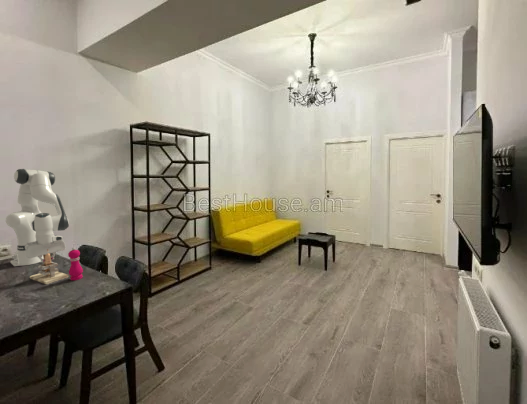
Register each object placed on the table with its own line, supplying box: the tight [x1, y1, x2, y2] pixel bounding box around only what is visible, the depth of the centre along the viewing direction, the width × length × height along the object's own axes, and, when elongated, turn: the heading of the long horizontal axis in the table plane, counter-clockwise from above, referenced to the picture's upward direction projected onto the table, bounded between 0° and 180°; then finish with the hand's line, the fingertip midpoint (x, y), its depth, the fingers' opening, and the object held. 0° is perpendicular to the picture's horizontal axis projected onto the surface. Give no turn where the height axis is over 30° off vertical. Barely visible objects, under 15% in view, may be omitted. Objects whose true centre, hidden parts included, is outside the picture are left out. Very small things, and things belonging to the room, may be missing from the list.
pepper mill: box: [67, 247, 84, 281], centre depth 165 cm, size 7×7×20 cm
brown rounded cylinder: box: [43, 249, 53, 272], centre depth 167 cm, size 4×4×16 cm
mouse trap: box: [29, 261, 70, 285], centre depth 167 cm, size 20×12×9 cm, turn 63°
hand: (47, 260), depth 167 cm, fingers closed on brown rounded cylinder, 4 cm apart
